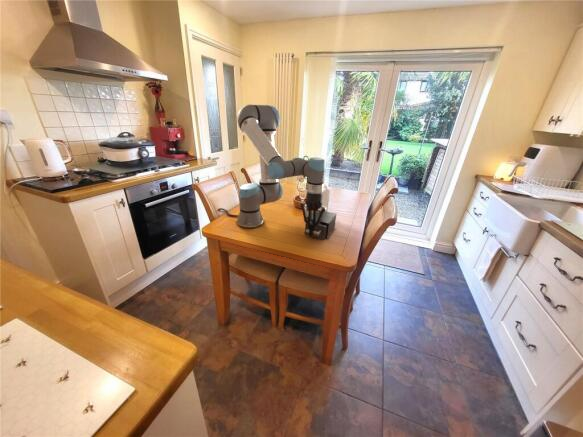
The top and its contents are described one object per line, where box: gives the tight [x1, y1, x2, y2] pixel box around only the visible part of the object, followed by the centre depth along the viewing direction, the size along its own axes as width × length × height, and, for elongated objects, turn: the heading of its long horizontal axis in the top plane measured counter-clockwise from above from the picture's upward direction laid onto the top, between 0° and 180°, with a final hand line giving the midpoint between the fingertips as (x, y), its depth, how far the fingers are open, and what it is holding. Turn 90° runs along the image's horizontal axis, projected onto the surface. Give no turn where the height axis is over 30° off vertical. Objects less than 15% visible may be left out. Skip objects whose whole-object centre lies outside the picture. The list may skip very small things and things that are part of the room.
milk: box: [318, 184, 331, 212], centre depth 147 cm, size 6×6×22 cm
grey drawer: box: [304, 221, 327, 241], centre depth 128 cm, size 18×11×8 cm, turn 155°
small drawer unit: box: [312, 210, 337, 240], centre depth 133 cm, size 15×13×10 cm
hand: (310, 235), depth 120 cm, fingers closed
